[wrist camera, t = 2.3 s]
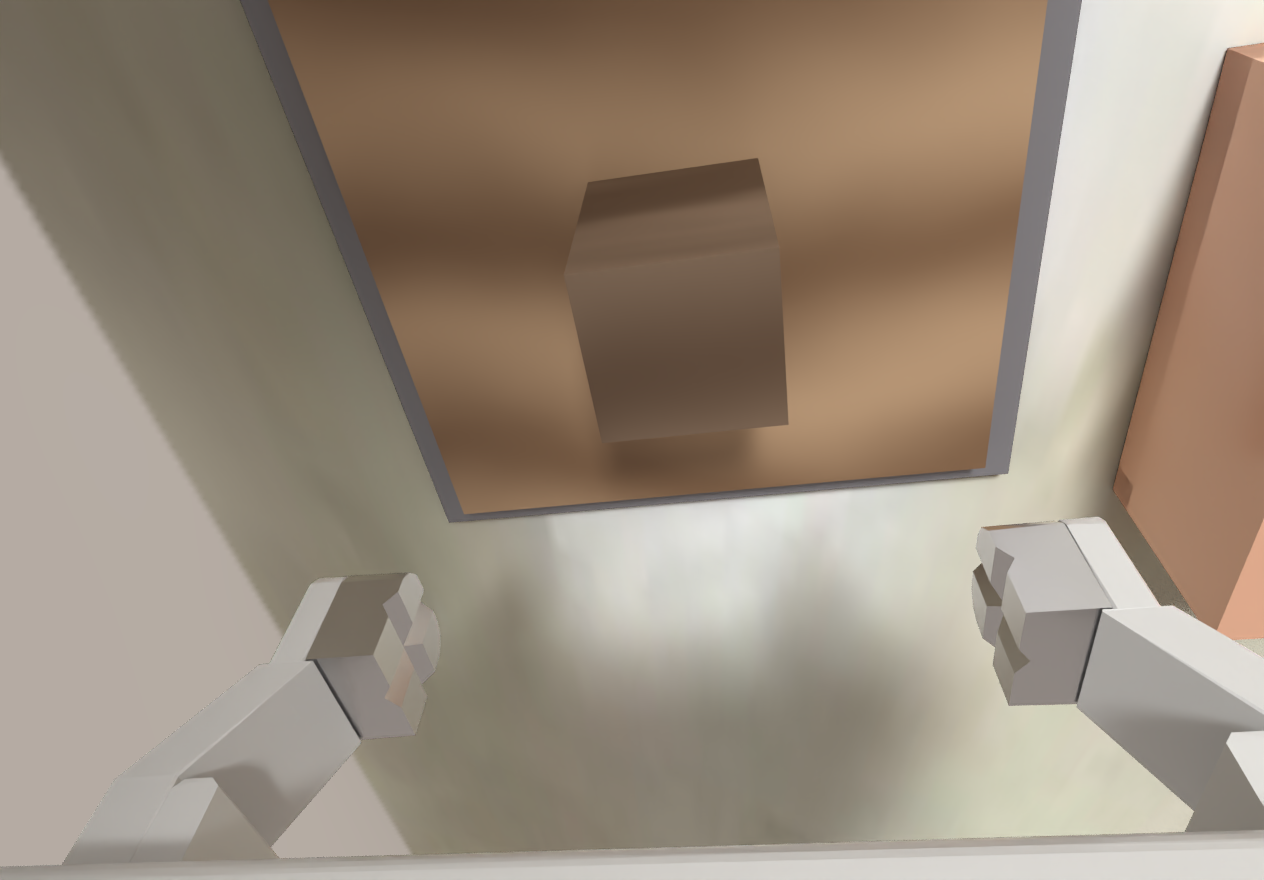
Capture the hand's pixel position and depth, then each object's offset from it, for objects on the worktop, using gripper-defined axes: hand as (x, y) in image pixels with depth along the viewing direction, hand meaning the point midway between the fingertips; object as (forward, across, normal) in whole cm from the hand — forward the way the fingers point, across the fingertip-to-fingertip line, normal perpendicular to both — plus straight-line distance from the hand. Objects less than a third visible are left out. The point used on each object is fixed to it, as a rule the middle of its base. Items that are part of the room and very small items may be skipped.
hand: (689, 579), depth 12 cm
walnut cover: (+11, 0, -1) cm, 11 cm away
